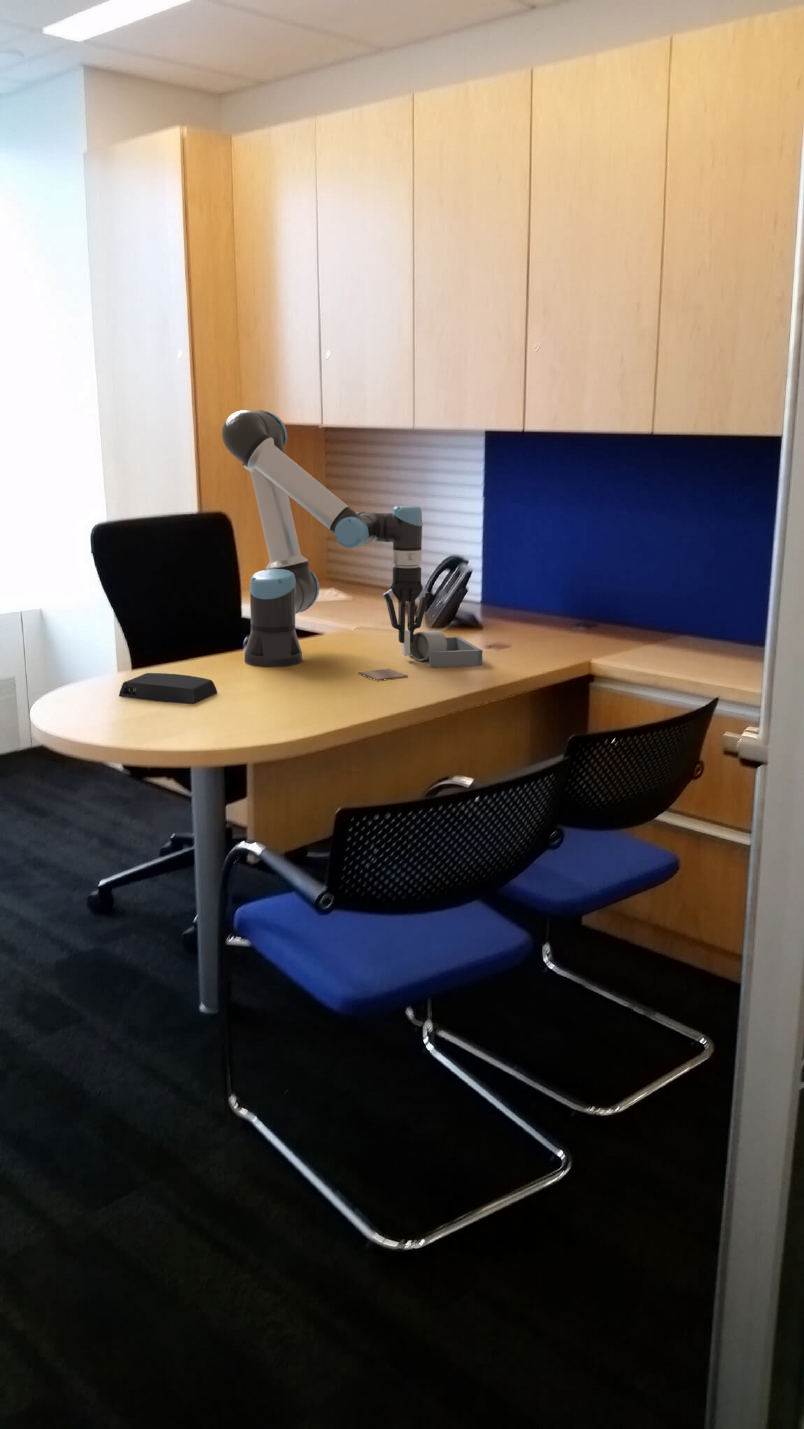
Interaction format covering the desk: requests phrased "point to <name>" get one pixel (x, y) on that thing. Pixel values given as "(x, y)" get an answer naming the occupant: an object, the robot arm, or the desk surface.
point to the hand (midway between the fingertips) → (405, 654)
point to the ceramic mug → (427, 644)
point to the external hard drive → (168, 688)
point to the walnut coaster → (383, 674)
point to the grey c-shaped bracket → (456, 654)
